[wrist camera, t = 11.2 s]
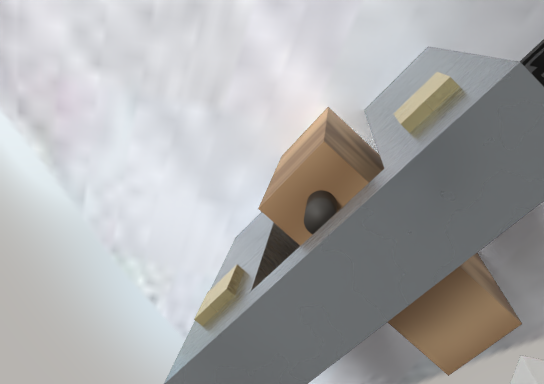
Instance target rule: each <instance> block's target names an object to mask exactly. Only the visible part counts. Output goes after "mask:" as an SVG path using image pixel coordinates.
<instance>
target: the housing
mask: <svg viewBox="0 0 544 384" xmlns="http://www.w3.org/2000/svg"><path fill="white" fill-rule="evenodd" d="M364 111H365V114H366V117H367V120H368V122H369V125H370V128H371V131H372V134H373V137H374V140H375V143H376V146H377V148H378V151H379V154H380V157H381V160H382V163H383V166H384V169H383V170H382V171H381V172H380V173H379V174H378V175H377V176H376V177H375V178H374V179H373V180H371V181H370V182H369V183H368V184H367V185H366V186H365V187H364V188H363V189H362V190H361V191H360V192H358V193H357V194H356V195H355V196H354V197H353V198H352V199H351V200H350V201H349V202H348V203H346V204H345V205H344V206H343V207H342V208H341V209H340V210H339V211H338V212H337V213H336V214H334V215H333V216H332V217H331V218H330V219H329V220H328V221H327V222H326V223H325V224H324V225H323V226H321V227H320V228H319V229H318V230H317V231H316V232H315V233H314V234H313V235H312V236H311V237H309V238H308V239H307V240H306V241H305V242H304V243H303V244H302V245H301V246H300V245H299V244H298V243H297V242H296V241H294V240H293V239H292V238H291V237H290V236H289V235H288V234H286V233H285V232H284V231H283V230H282V229H281V228H280V227H278V226H277V225H276V224H275V223H274V222H273V221H272V220H270V219H269V218H268V217H267V216H266V215H265V214H264V213H263V212H261V213H260V214H259V215H258V216H257V217H256V218H255V219H254V220H253V221H252V222H251V223H250V224H249V225H248V226H247V227H246V228H245V229H244V230H243V231H242V232H241V233H240V234H239V235H238V236H237V237H236V238H235V240H234V242H233V244H232V246H231V248H230V251H229V253H228V255H227V257H226V259H225V261H224V263H223V265H222V267H221V269H220V271H219V273H218V275H217V277H216V279H215V281H214V283H213V285H212V287H211V289H210V291H209V292H208V293H207V295H206V297H205V299H204V301H203V303H202V305H201V307H200V309H199V311H198V313H197V315H196V317H195V319H194V320H195V322H194V324H193V326H192V328H191V330H190V332H189V334H188V336H187V338H186V340H185V342H184V344H183V346H182V349H181V350H180V352H179V354H178V356H177V358H176V360H175V363H174V365H173V367H172V369H171V371H170V373H169V375H168V377H167V379H166V381H165V383H164V384H308V383H309V382H310V381H312V380H313V379H314V378H316V377H317V376H318V375H320V374H321V373H322V372H323V371H325V370H326V369H327V368H329V367H330V366H331V365H332V364H334V363H335V362H336V361H338V360H339V359H340V358H341V357H343V356H344V355H345V354H347V353H348V352H349V351H351V350H352V349H353V348H354V347H356V346H357V345H358V344H360V343H361V342H362V341H363V340H365V339H366V338H367V337H369V336H370V335H371V334H372V333H374V332H375V331H376V330H378V329H379V328H380V327H381V326H383V325H384V324H385V323H387V322H388V321H389V320H391V319H392V318H393V317H394V316H396V315H397V314H398V313H400V312H401V311H402V310H403V309H405V308H406V307H407V306H409V305H410V304H411V303H412V302H414V301H415V300H416V299H418V298H419V297H420V296H422V295H423V294H424V293H425V292H427V291H428V290H429V289H431V288H432V287H433V286H434V285H436V284H437V283H438V282H440V281H441V280H442V279H443V278H445V277H446V276H447V275H449V274H450V273H451V272H453V271H454V270H455V269H456V268H458V267H459V266H460V265H462V264H463V263H464V262H465V261H467V260H468V259H469V258H471V257H472V256H473V255H474V254H476V253H477V252H478V251H480V250H481V249H482V248H484V247H485V246H486V245H487V244H489V243H490V242H491V241H493V240H494V239H495V238H496V237H498V236H499V235H500V234H502V233H503V232H504V231H505V230H507V229H508V228H509V227H511V226H512V225H513V224H515V223H516V222H517V221H518V220H520V219H521V218H522V217H524V216H525V215H526V214H527V213H529V212H530V211H531V210H533V209H534V208H535V207H536V206H538V205H539V204H540V203H542V202H543V201H544V87H543V86H542V85H541V83H540V82H539V81H538V80H537V79H536V78H535V77H534V76H533V75H532V74H531V73H530V72H529V71H528V70H527V69H526V68H525V66H524V65H523V64H522V63H521V62H518V61H511V60H505V59H499V58H493V57H487V56H481V55H475V54H469V53H463V52H457V51H451V50H445V49H439V48H433V47H427V48H426V49H425V50H424V51H423V52H422V53H421V54H420V55H419V56H418V57H417V58H416V59H415V60H414V61H413V62H412V63H411V64H410V65H409V66H408V67H407V68H406V69H405V70H404V71H403V72H402V73H401V74H400V75H399V76H398V77H397V78H396V79H395V80H394V81H393V82H392V83H391V84H390V85H389V86H388V87H387V88H386V89H385V90H384V91H383V92H382V93H381V94H380V95H379V96H378V97H377V98H376V99H375V100H374V101H373V102H372V103H371V104H370V105H369V106H368V107H367V108H366V109H365V110H364Z"/></svg>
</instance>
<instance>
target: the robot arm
mask: <svg viewBox="0 0 544 384" xmlns="http://www.w3.org/2000/svg"><path fill="white" fill-rule="evenodd" d="M510 384H544V360H541V359H536V358H532V357H527V356H522V355H521V357H520V359H519V361H518V364H517V367H516V369H515V372H514V374H513V377H512V380H511V382H510Z"/></svg>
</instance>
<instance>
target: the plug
mask: <svg viewBox="0 0 544 384" xmlns="http://www.w3.org/2000/svg"><path fill="white" fill-rule="evenodd" d="M383 169H384V166H383V163H382V160H381V157H380V155H379V154H378V153H377V152H376V151H375V150H374V149H372V148H371V147H370V146H369V145H368V144H367V143H366V142H365V141H364V140H363V139H362V138H361V137H360V136H359V135H358V134H356V133H355V132H354V131H353V130H352V129H351V128H350V127H349V126H348V125H347V124H346V123H345V122H344V121H343V120H342V119H340V118H339V117H338V116H337V115H336V114H335V113H334V112H333V111H332V110H331V109H330V108H329V107H328V108H327V109H326V110H325V111H324V112H323V113H322V114H321V115H320V116H319V117H318V118H317V119H316V120H315V121H314V123H313V124H312V125H311V126H310V127H309V128H308V129H307V130H306V131H305V132H304V133H303V134H302V135H301V136H300V137H299V138H298V139H297V141H296V142H295V143H294V144H293V145H292V146H291V147H290V148H289V149H288V150H287V151H286V152H285V153H284V154H283V155H282V157H281V159H280V161H279V163H278V166H277V168H276V170H275V172H274V175H273V177H272V179H271V181H270V184H269V186H268V188H267V190H266V193H265V195H264V197H263V199H262V202H261V204H260V206H259V208H258V209H259V210H260V211H261V212H263V213H264V214H265V215H266V216H267V217H268V218H269V219H270V220H272V221H273V222H274V223H275V224H276V225H277V226H278V227H280V228H281V229H282V230H283V231H284V232H285V233H286V234H288V235H289V236H290V237H291V238H292V239H293V240H294V241H296V242H297V243H298V244H299V245H300V246H301V245H302V244H303V243H304V242H305V241H306V240H307V239H308V238H309V237H311V236H312V235H313V234H314V233H315V232H316V231H317V230H318V229H319V228H320V227H321V226H323V225H324V224H325V223H326V222H327V221H328V220H329V219H330V218H331V217H332V216H333V215H334V214H336V213H337V212H338V211H339V210H340V209H341V208H342V207H343V206H344V205H345V204H346V203H348V202H349V201H350V200H351V199H352V198H353V197H354V196H355V195H356V194H357V193H358V192H360V191H361V190H362V189H363V188H364V187H365V186H366V185H367V184H368V183H369V182H370V181H371V180H373V179H374V178H375V177H376V176H377V175H378V174H379V173H380V172H381V171H382V170H383ZM388 323H389V324H390V325H391V326H392V327H394V328H395V329H396V330H397V331H398V332H399V333H400V334H402V335H403V336H404V337H405V338H406V339H407V340H408V341H410V342H411V343H412V344H413V345H414V346H415V347H416V348H418V349H419V350H420V351H421V352H422V353H423V354H424V355H426V356H427V357H428V358H429V359H430V360H431V361H432V362H434V363H435V364H436V365H437V366H438V367H439V368H440V369H441V370H443V371H444V372H445V373H446V374H447V375H448V376H449V375H450V374H452V373H453V372H454V371H456V370H457V369H459V368H460V367H461V366H463V365H464V364H466V363H467V362H469V361H470V360H471V359H473V358H474V357H476V356H477V355H479V354H480V353H481V352H483V351H484V350H486V349H487V348H488V347H490V346H491V345H493V344H494V343H496V342H497V341H498V340H500V339H501V338H503V337H504V336H505V335H507V334H508V333H510V332H511V331H513V330H514V329H515V328H517V327H518V326H520V325H521V324H522V323H521V321H520V320H519V318H518V317H517V315H516V314H515V312H514V310H513V309H512V307H511V306H510V304H509V302H508V301H507V299H506V298H505V296H504V295H503V293H502V291H501V290H500V288H499V287H498V285H497V283H496V282H495V280H494V279H493V277H492V275H491V274H490V272H489V271H488V269H487V268H486V266H485V264H484V263H483V261H482V260H481V258H480V256H479V255H478V253H476V254H474V255H473V256H472V257H471V258H469V259H468V260H467V261H465V262H464V263H463V264H462V265H460V266H459V267H458V268H456V269H455V270H454V271H453V272H451V273H450V274H449V275H447V276H446V277H445V278H443V279H442V280H441V281H440V282H438V283H437V284H436V285H434V286H433V287H432V288H431V289H429V290H428V291H427V292H425V293H424V294H423V295H422V296H420V297H419V298H418V299H416V300H415V301H414V302H412V303H411V304H410V305H409V306H407V307H406V308H405V309H403V310H402V311H401V312H400V313H398V314H397V315H396V316H394V317H393V318H392V319H391V320H389V321H388Z"/></svg>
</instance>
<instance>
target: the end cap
mask: <svg viewBox="0 0 544 384" xmlns="http://www.w3.org/2000/svg"><path fill="white" fill-rule="evenodd" d="M520 62H521V63H522V64H523V65H524V66H525V68H526V69H527V70H528V71H529V72H530V73H531V74H532V75H533V76H534V77H535V78H536V79H537V80H538V81H539V82H540V83H541V85H542V86H543V87H544V40H543V41H542V42H540V43H539V44H538V45H537V46H536V47H535V48H534V49H533V50H532V51H531V52H530V53H529V54H528V55H526V56H525V57H524V58H523V59H522V60H521V61H520Z"/></svg>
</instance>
